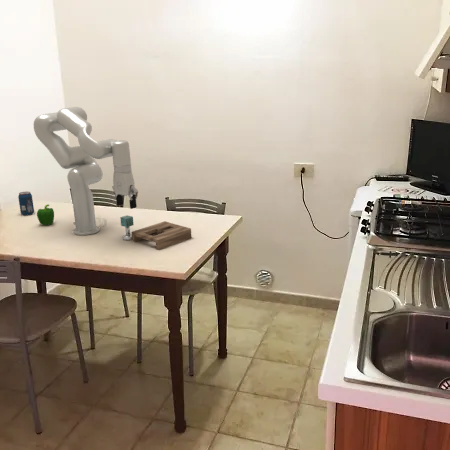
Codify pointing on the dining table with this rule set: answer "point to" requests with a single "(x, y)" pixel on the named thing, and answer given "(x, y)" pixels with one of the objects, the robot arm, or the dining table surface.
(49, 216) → the bell pepper
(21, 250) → the dining table surface
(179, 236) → the keyhole plate
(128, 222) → the headed peg
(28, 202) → the soda can
